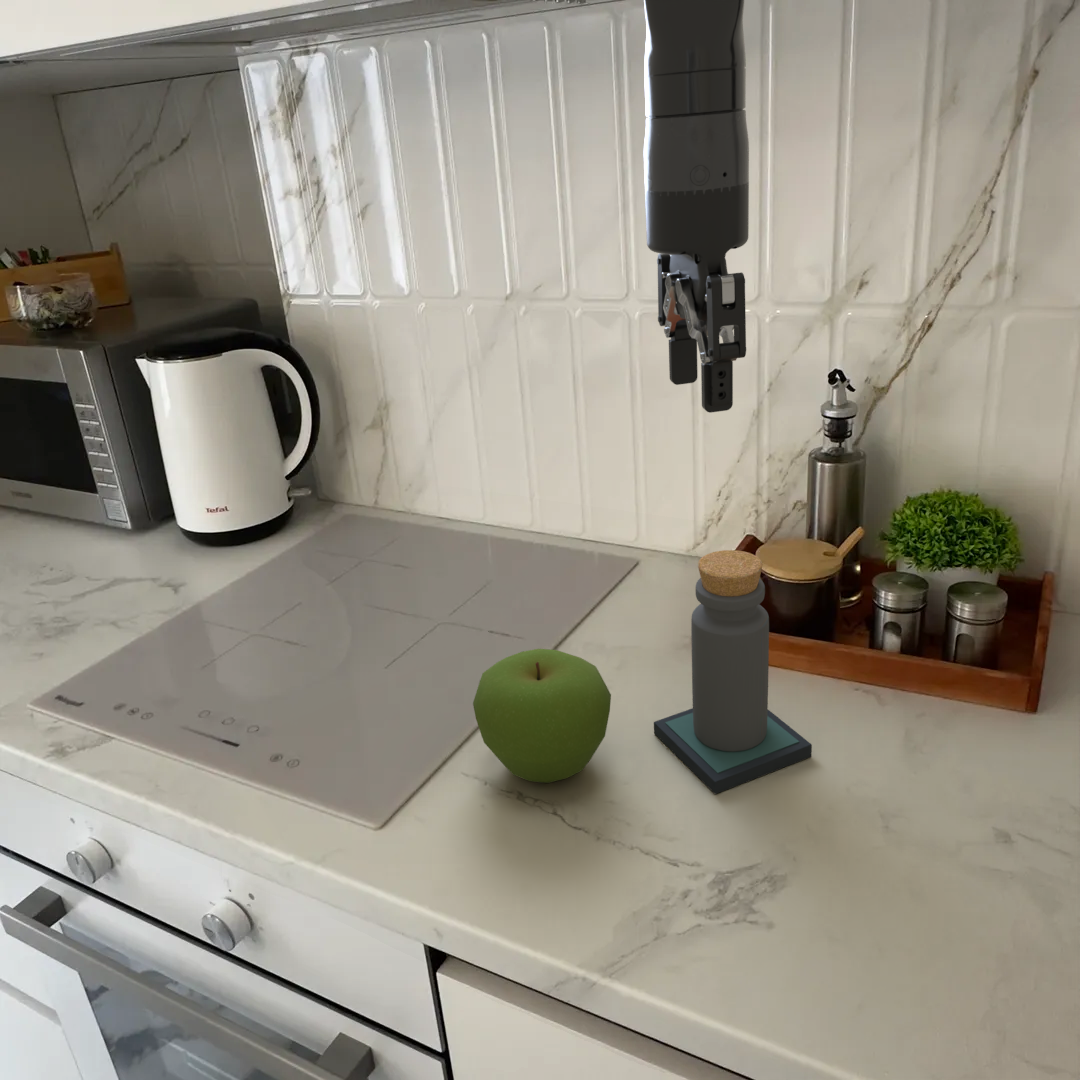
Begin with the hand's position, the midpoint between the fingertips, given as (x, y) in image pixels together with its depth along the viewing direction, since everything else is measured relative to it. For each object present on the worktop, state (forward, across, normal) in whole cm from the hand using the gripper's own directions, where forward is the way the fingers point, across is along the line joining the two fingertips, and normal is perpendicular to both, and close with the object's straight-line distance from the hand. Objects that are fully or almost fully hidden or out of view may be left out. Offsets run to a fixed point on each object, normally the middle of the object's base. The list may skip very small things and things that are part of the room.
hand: (699, 395), depth 78 cm
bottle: (+25, -10, +1) cm, 27 cm away
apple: (+26, -10, +16) cm, 32 cm away
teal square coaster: (+26, -11, +1) cm, 28 cm away
